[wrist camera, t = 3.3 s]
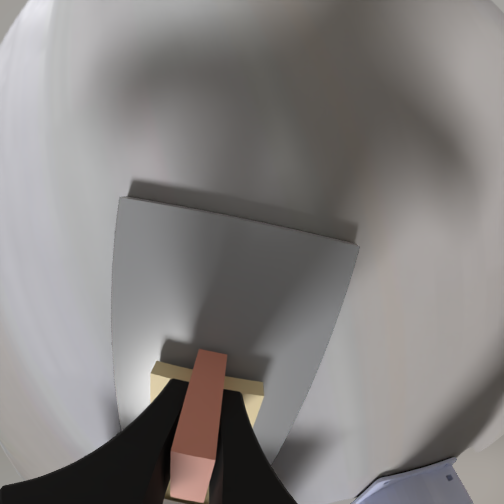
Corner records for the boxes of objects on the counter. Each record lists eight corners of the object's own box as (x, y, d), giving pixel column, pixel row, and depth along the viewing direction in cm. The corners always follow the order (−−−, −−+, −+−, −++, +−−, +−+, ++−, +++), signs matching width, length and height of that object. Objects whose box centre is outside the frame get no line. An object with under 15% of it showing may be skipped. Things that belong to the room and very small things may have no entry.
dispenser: (388, 252, 9) (536, 339, 2) (249, 522, 15) (249, 580, 8) (92, 191, 9) (-73, 214, 2) (126, 499, 14) (109, 554, 7)
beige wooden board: (269, 361, 9) (281, 466, 5) (217, 505, 12) (214, 556, 8) (157, 338, 9) (108, 431, 5) (159, 494, 12) (148, 543, 8)
